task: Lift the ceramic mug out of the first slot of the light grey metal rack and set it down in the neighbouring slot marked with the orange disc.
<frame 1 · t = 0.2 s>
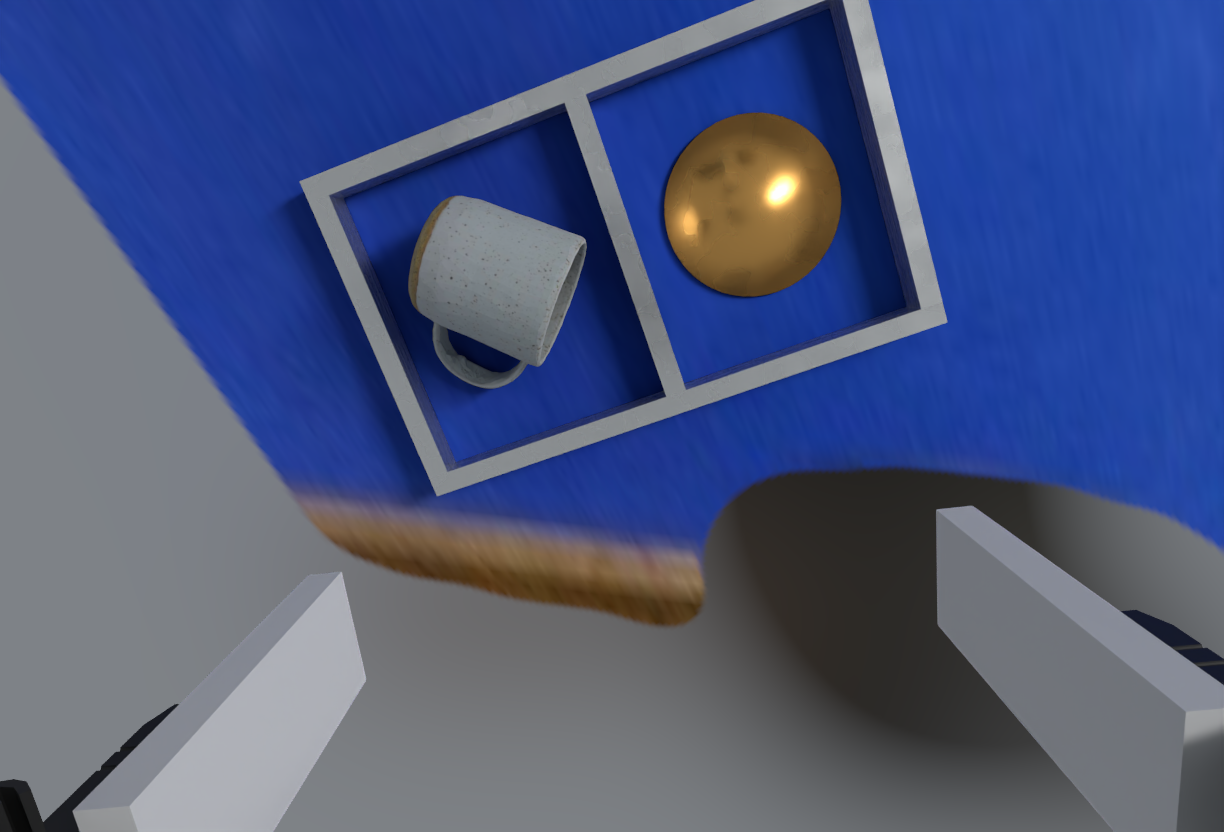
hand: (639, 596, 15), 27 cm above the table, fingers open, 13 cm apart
slot rack: (627, 253, 39), on the table
ceramic mug: (508, 299, 40), on the table
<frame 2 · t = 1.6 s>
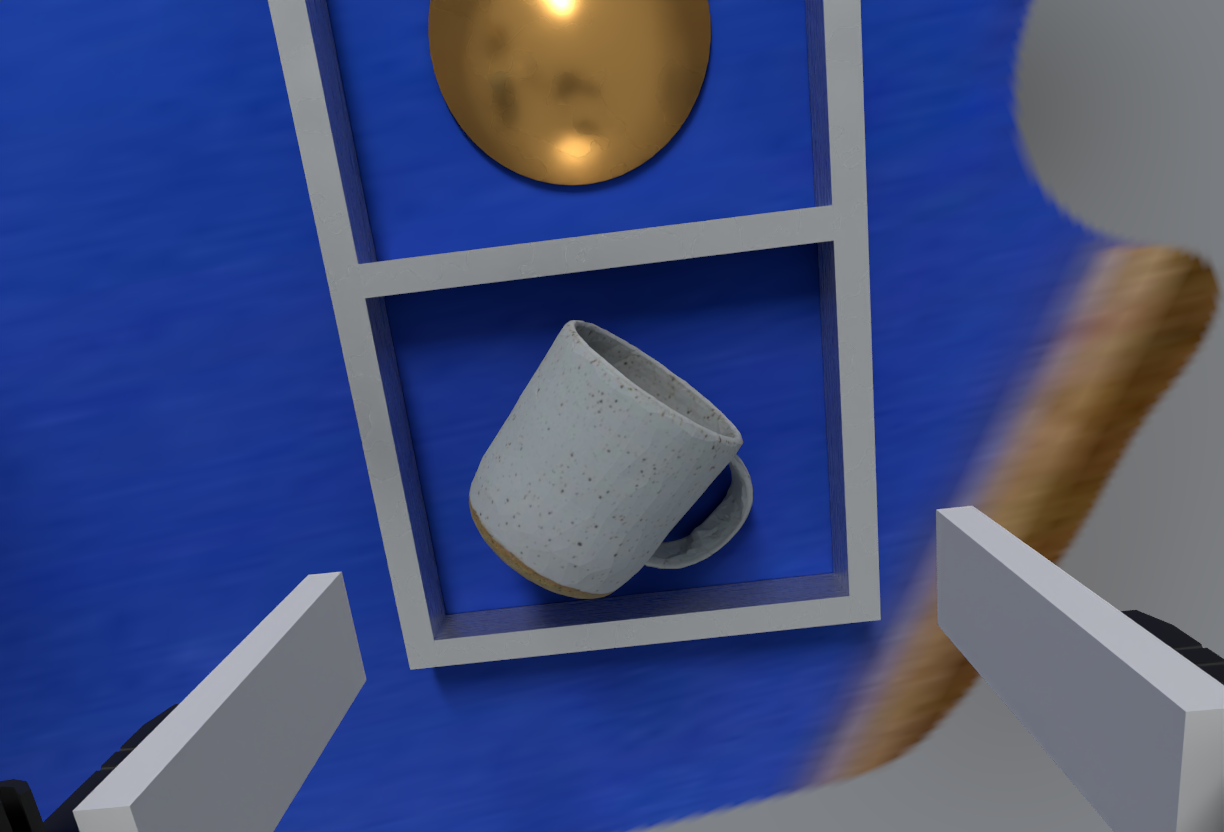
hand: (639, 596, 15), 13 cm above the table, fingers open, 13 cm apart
slot rack: (596, 252, 26), on the table
ceramic mug: (630, 446, 28), on the table
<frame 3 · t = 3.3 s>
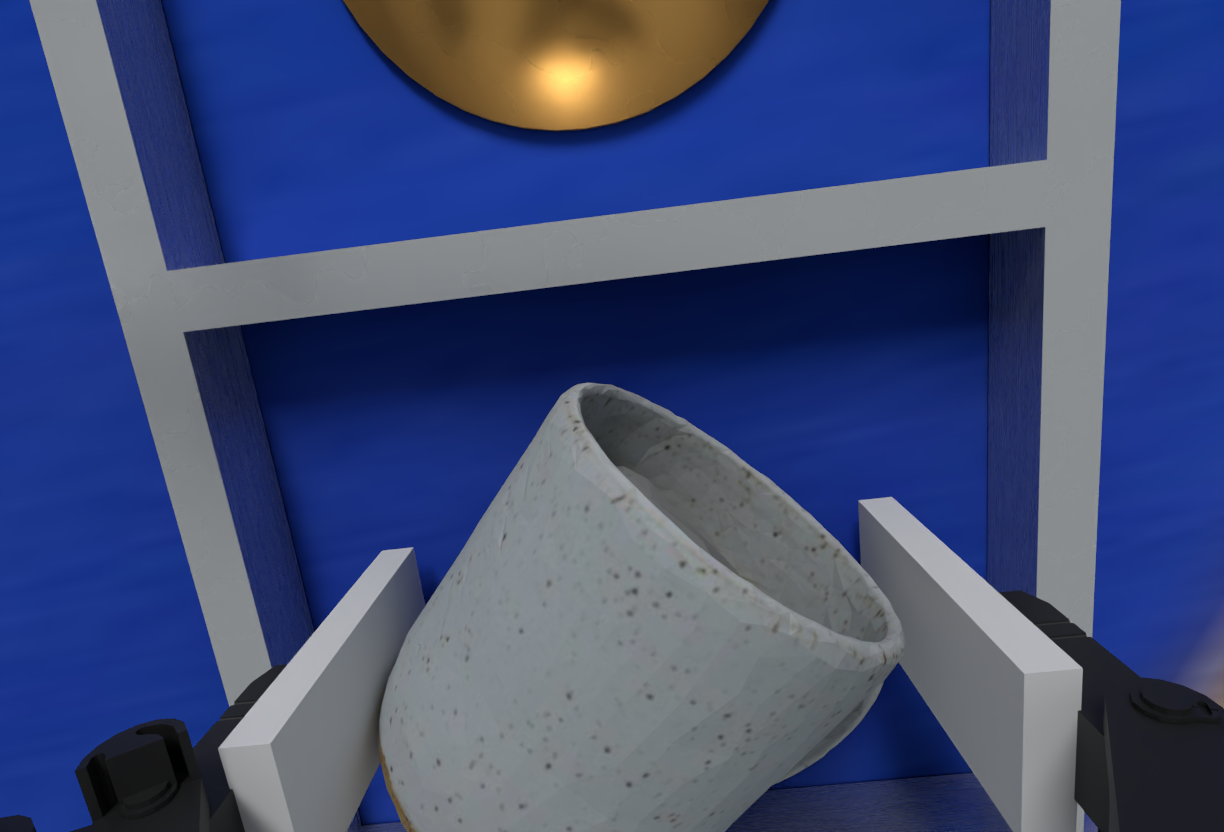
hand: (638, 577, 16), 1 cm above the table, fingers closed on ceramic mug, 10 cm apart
slot rack: (601, 250, 15), on the table
ceramic mug: (670, 577, 17), on the table, touching gripper
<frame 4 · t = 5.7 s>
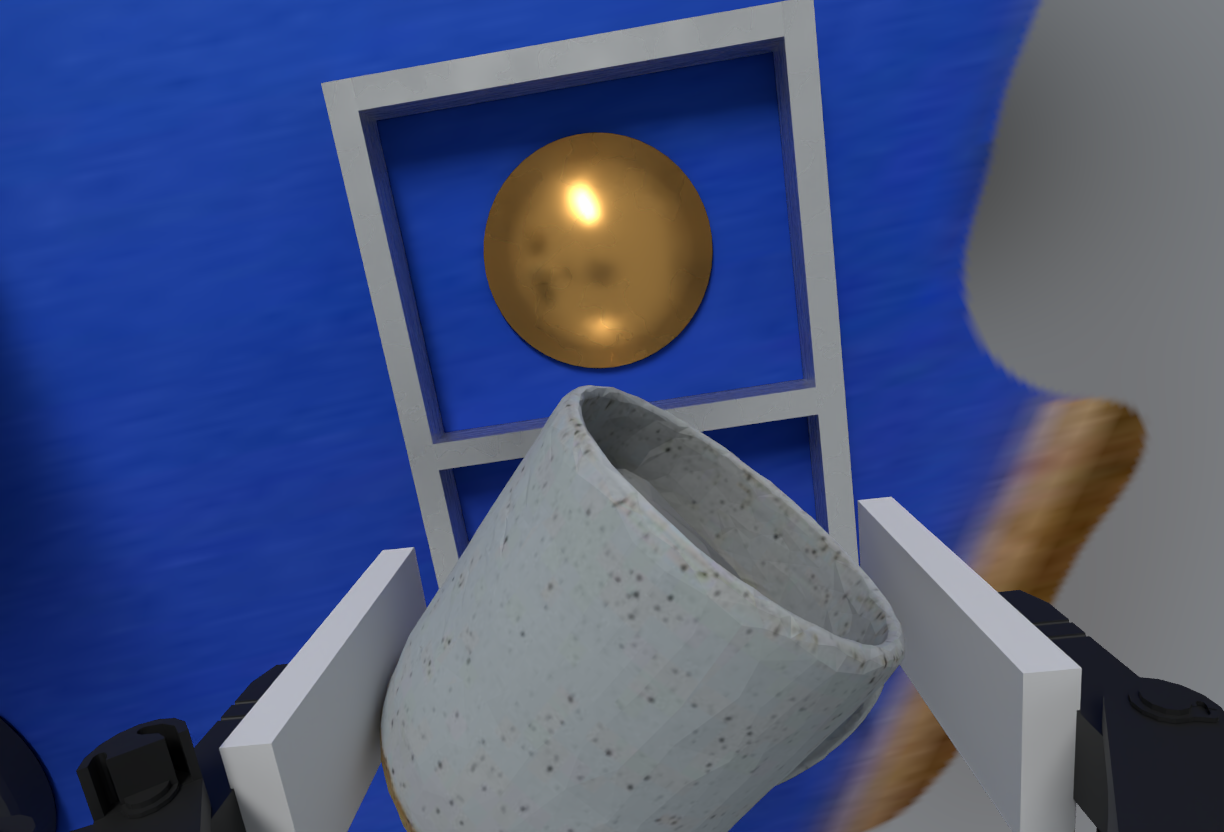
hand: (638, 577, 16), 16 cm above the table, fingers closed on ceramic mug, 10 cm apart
slot rack: (623, 418, 31), on the table
ceramic mug: (671, 579, 17), point 15 cm above the table, touching gripper
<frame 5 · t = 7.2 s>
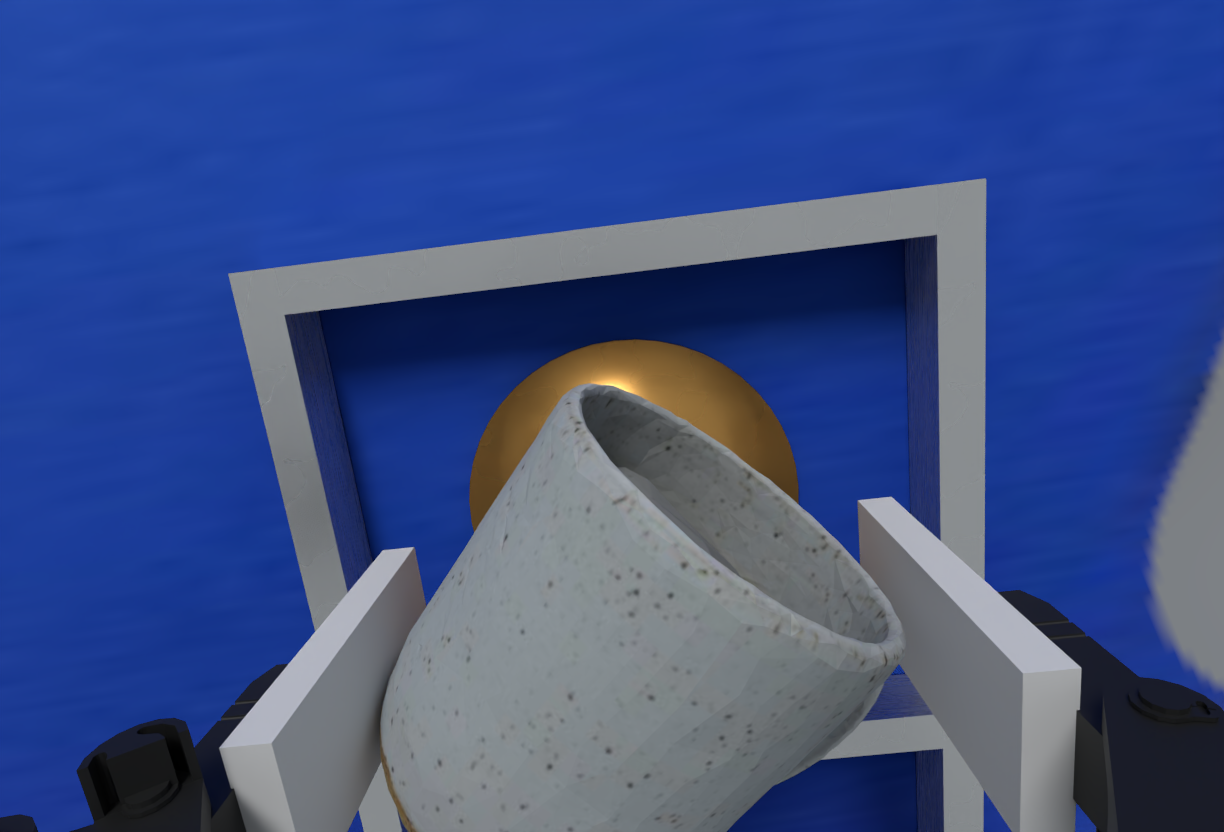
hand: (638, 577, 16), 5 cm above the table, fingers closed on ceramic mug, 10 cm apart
slot rack: (658, 713, 22), on the table
ceramic mug: (671, 577, 17), point 4 cm above the table, touching gripper
when the fingers open (2 cm above the table, at t = 8.3 s): ceramic mug drops 1 cm, resting on slot rack.
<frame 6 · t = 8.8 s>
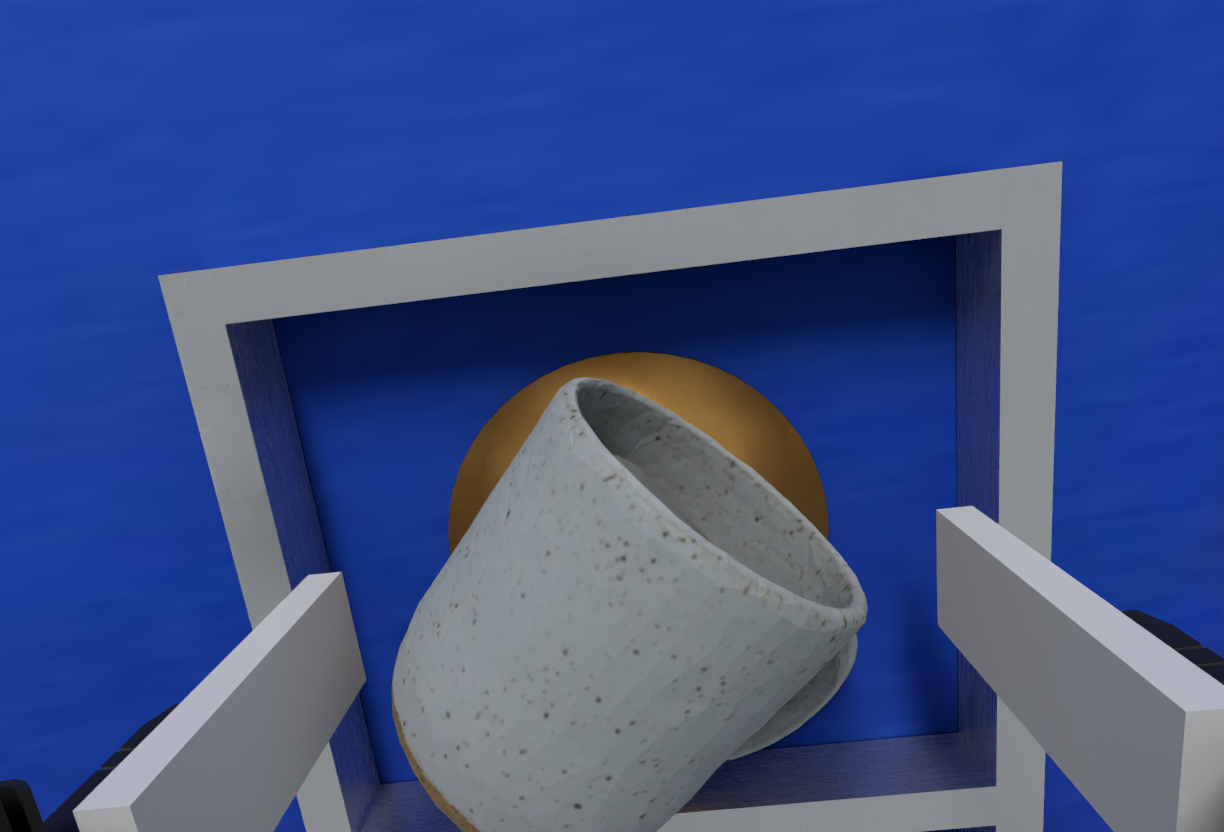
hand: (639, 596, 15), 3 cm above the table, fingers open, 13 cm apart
slot rack: (665, 776, 20), on the table
ceramic mug: (660, 559, 18), resting on slot rack
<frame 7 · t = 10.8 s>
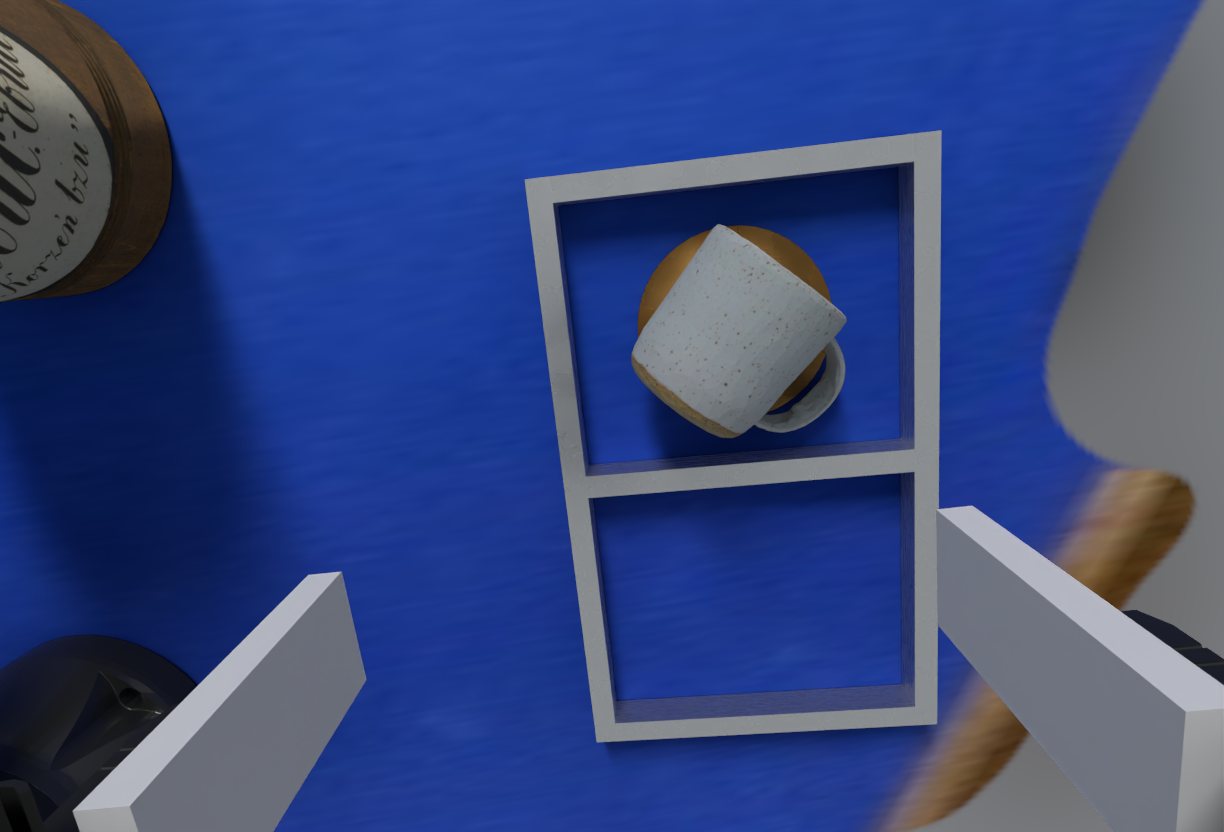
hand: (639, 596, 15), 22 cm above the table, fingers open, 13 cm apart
wooden container: (40, 152, 35), on the table
slot rack: (742, 462, 37), on the table
ceramic mug: (745, 337, 35), resting on slot rack
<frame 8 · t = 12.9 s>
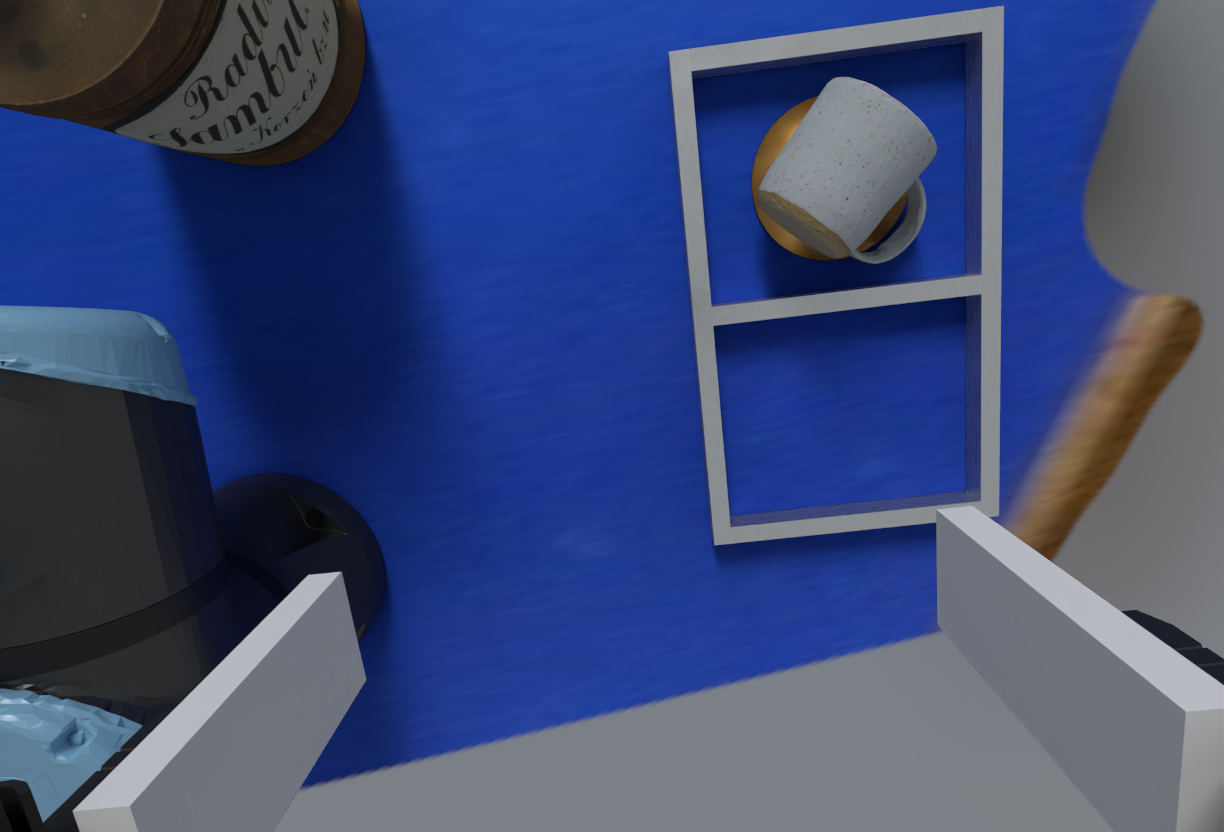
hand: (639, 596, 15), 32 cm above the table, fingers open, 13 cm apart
wooden container: (250, 41, 42), on the table
slot rack: (836, 298, 44), on the table
ceramic mug: (840, 189, 43), resting on slot rack
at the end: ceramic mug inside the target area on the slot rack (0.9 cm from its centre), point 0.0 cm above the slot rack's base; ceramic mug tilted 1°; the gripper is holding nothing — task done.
